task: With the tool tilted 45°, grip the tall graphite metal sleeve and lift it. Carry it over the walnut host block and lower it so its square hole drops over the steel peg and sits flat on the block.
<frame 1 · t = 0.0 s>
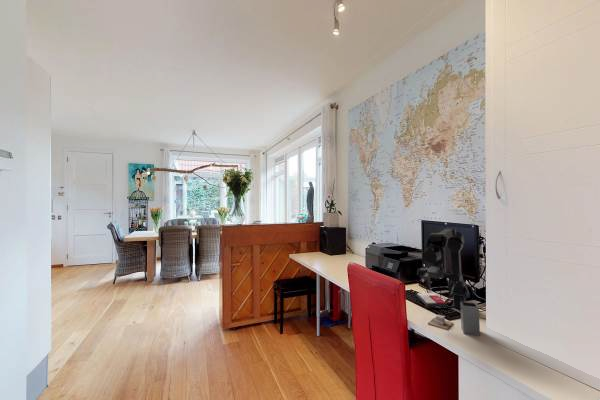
hand: (439, 292, 125), 15 cm above the table, tool pointing down, fingers open, 9 cm apart
calculator: (431, 304, 150), on the table
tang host: (440, 325, 124), on the table
socket sleeve: (470, 331, 116), on the table
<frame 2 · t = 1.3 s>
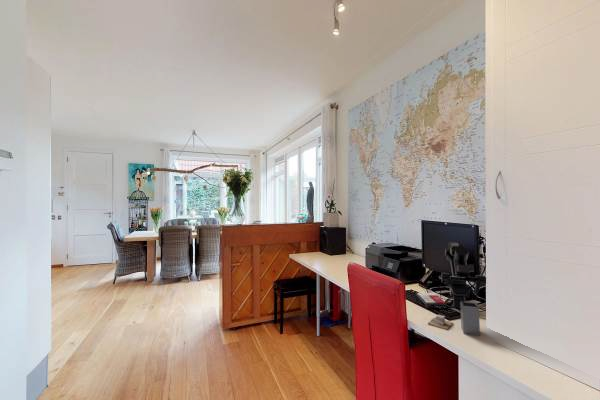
hand: (465, 295, 124), 13 cm above the table, tool tilted 45°, fingers open, 9 cm apart
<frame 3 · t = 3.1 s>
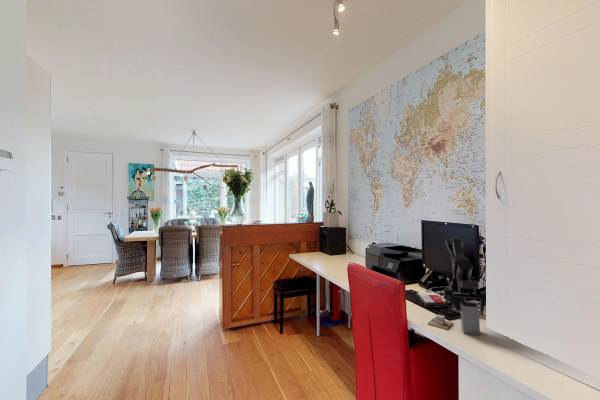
hand: (469, 313, 116), 8 cm above the table, tool tilted 45°, fingers open, 9 cm apart
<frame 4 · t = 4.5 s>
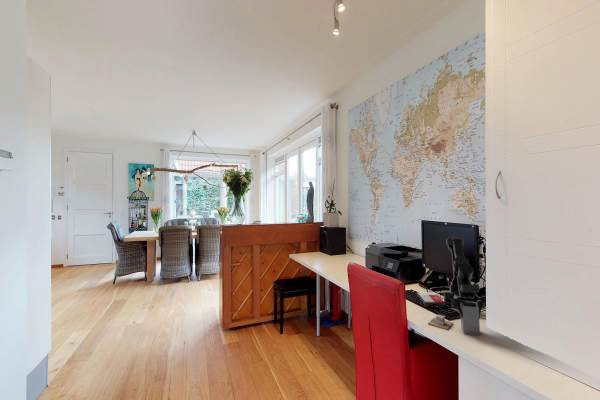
hand: (470, 318, 115), 7 cm above the table, tool tilted 45°, fingers closed on socket sleeve, 6 cm apart
socket sleeve: (470, 331, 116), on the table, touching gripper
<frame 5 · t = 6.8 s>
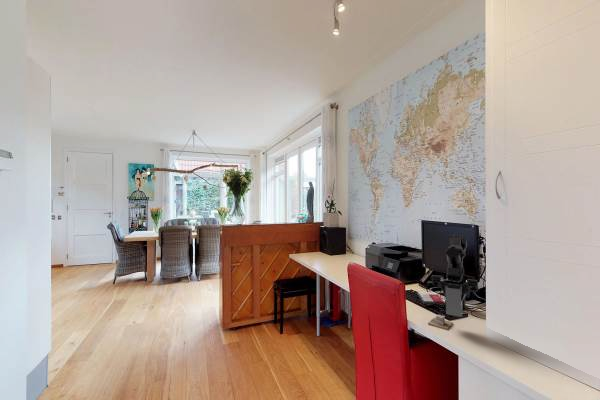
hand: (453, 299, 119), 13 cm above the table, tool tilted 45°, fingers closed on socket sleeve, 6 cm apart
socket sleeve: (454, 313, 119), point 7 cm above the table, touching gripper
when the fingers open (9 cm above the table, at t = 9.4 s): socket sleeve drops 2 cm, point 1 cm above the table.
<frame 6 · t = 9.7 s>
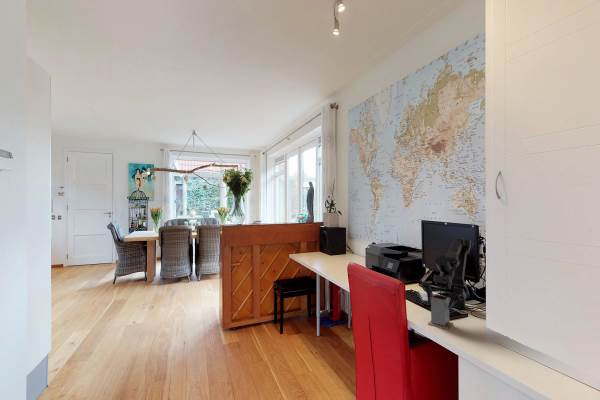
hand: (438, 305, 123), 9 cm above the table, tool tilted 45°, fingers open, 9 cm apart
socket sleeve: (440, 322, 124), point 1 cm above the table
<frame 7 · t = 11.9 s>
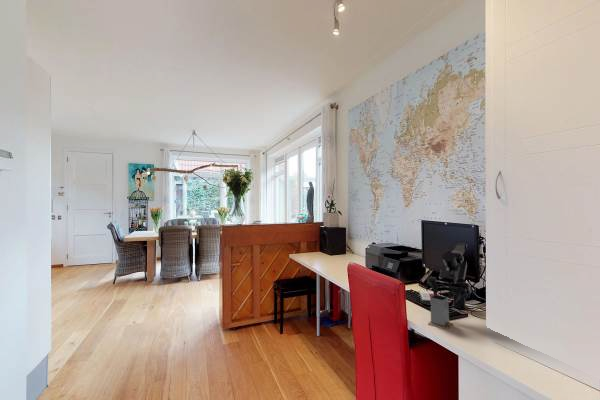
hand: (444, 299, 127), 10 cm above the table, tool tilted 45°, fingers open, 9 cm apart
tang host: (440, 325, 124), on the table, touching socket sleeve
socket sleeve: (440, 322, 124), point 1 cm above the table, touching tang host
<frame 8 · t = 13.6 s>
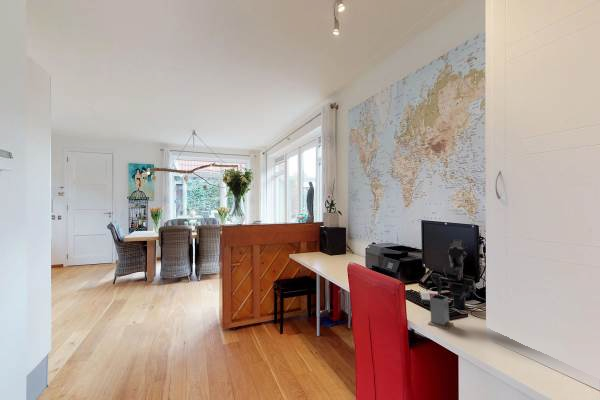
hand: (448, 296, 124), 13 cm above the table, tool tilted 45°, fingers open, 9 cm apart
at the end: socket sleeve 0.3 cm off-centre on the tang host, point 1.3 cm above the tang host's base; socket sleeve tilted 1°; the gripper is holding nothing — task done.
